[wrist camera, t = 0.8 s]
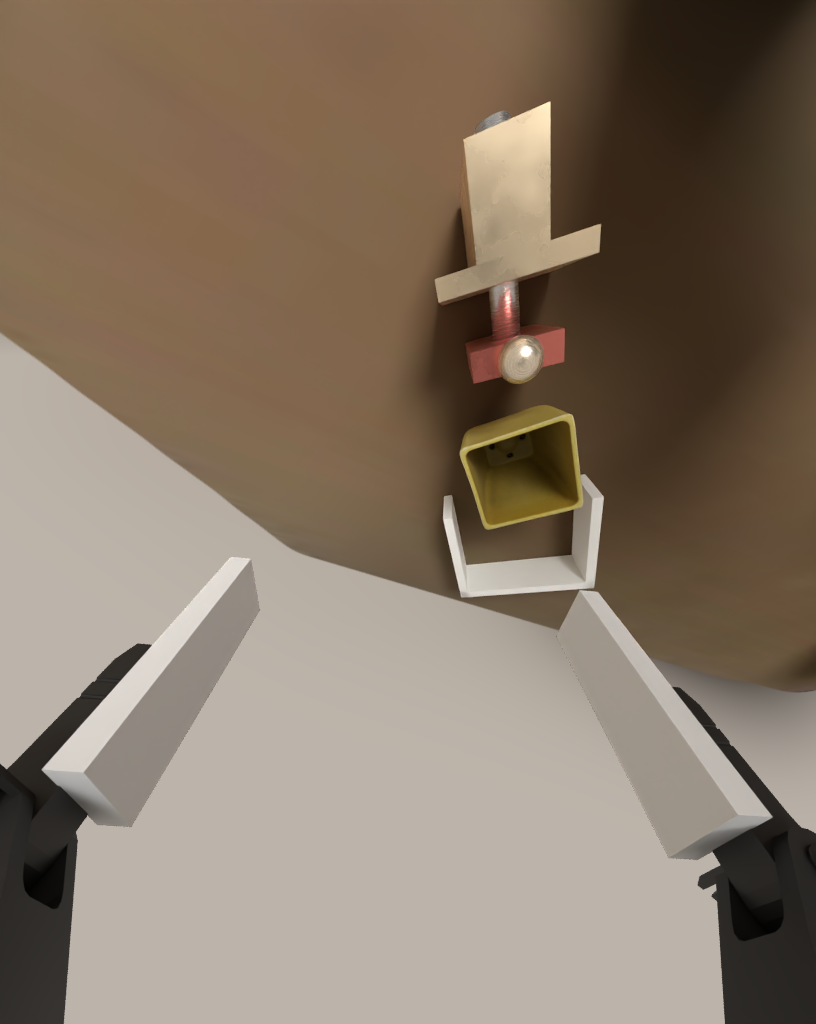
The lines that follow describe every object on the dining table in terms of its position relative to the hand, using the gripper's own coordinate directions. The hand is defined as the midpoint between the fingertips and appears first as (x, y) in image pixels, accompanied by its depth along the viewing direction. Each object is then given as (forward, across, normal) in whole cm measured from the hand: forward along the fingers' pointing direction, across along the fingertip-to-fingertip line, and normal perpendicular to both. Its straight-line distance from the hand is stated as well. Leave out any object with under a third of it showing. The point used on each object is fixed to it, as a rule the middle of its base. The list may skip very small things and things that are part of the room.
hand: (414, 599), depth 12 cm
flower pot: (+24, +10, +2) cm, 26 cm away
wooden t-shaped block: (+22, +5, +15) cm, 27 cm away
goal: (+24, +14, -9) cm, 29 cm away
